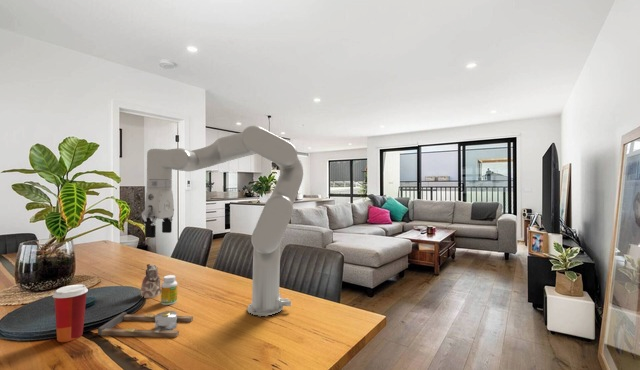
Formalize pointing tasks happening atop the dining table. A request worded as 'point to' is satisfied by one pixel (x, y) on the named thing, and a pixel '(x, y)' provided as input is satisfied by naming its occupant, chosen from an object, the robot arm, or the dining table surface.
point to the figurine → (151, 283)
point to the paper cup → (70, 312)
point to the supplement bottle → (169, 290)
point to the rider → (166, 320)
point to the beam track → (136, 332)
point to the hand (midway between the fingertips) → (158, 234)
